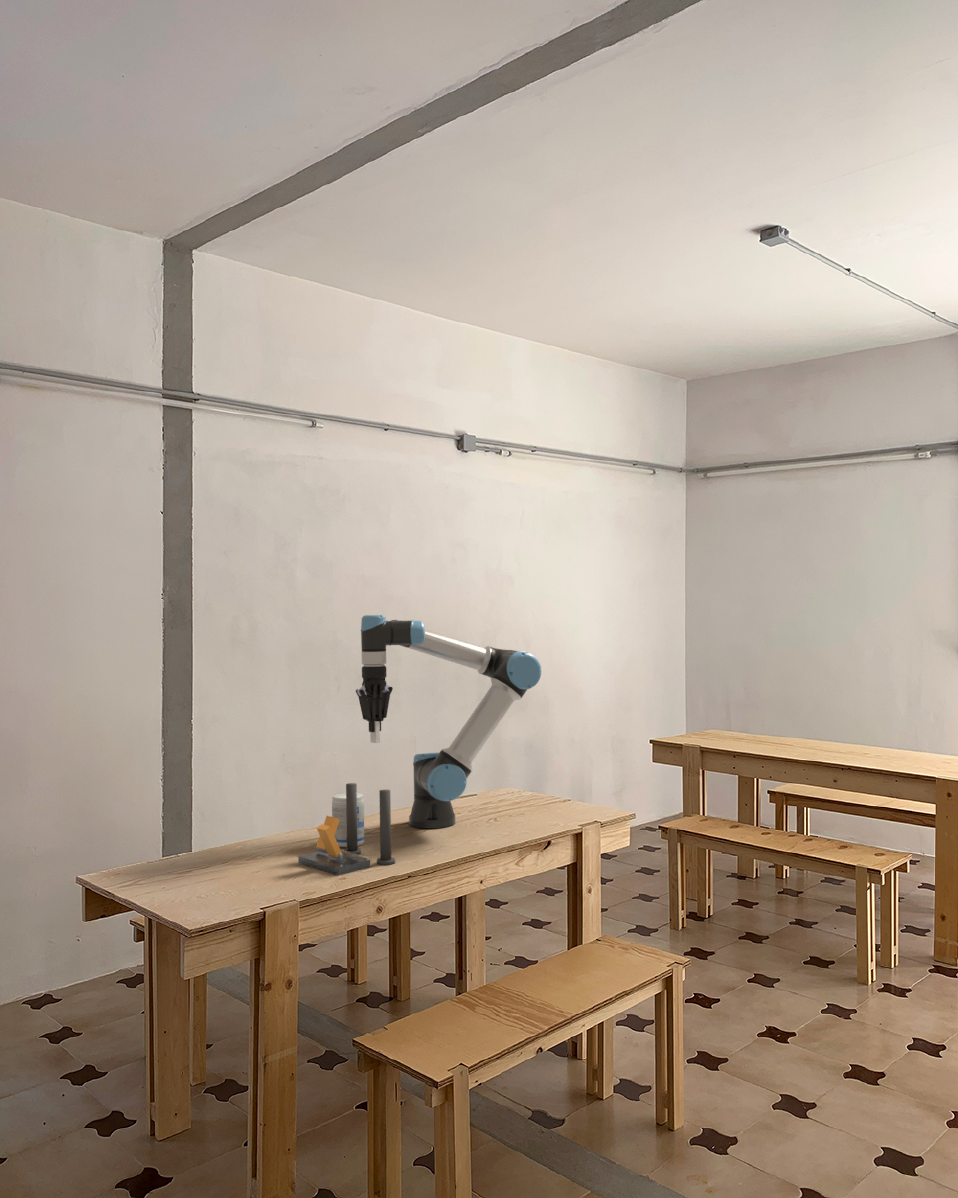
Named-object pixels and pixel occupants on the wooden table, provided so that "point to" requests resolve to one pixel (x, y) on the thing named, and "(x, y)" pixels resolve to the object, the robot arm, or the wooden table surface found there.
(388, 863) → the post
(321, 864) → the panel plate
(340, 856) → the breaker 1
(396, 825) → the wooden table surface
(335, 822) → the orange flat block
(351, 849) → the post
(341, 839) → the supplement tub
